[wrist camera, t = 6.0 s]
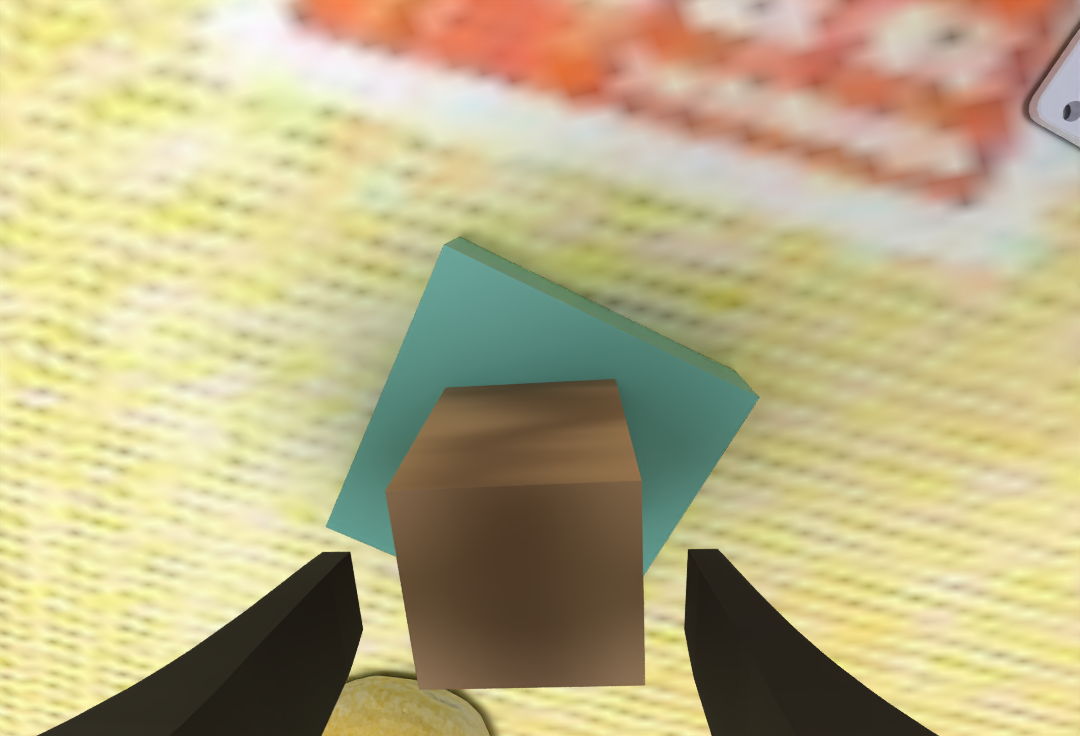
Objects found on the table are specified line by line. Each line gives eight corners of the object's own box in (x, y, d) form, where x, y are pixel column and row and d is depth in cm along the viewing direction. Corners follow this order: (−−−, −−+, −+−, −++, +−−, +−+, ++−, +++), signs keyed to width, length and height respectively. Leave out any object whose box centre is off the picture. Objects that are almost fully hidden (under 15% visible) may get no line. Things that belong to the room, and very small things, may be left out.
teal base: (730, 366, 20) (759, 397, 17) (595, 584, 22) (600, 642, 20) (462, 235, 19) (443, 244, 16) (357, 481, 21) (325, 527, 19)
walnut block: (615, 379, 17) (642, 480, 11) (619, 527, 18) (644, 685, 12) (445, 387, 17) (385, 491, 11) (463, 533, 18) (418, 689, 13)
